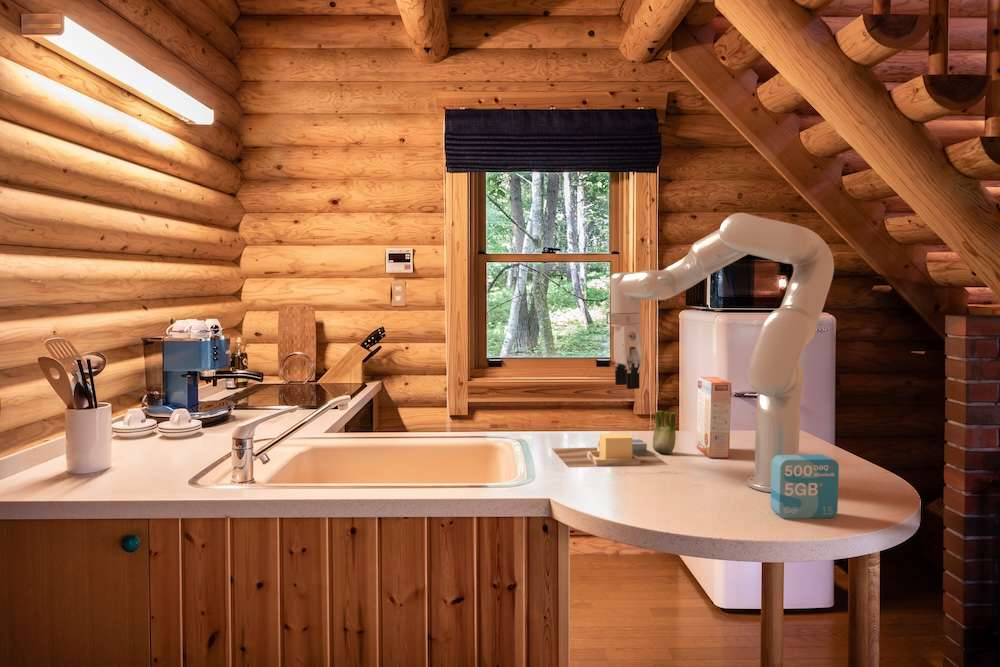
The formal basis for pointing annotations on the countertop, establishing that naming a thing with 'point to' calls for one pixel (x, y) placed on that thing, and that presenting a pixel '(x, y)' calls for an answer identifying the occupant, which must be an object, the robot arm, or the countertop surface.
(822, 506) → the data package
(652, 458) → the board
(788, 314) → the robot arm
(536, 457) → the countertop surface
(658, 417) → the fennel bulb
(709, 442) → the cracker box
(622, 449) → the block
